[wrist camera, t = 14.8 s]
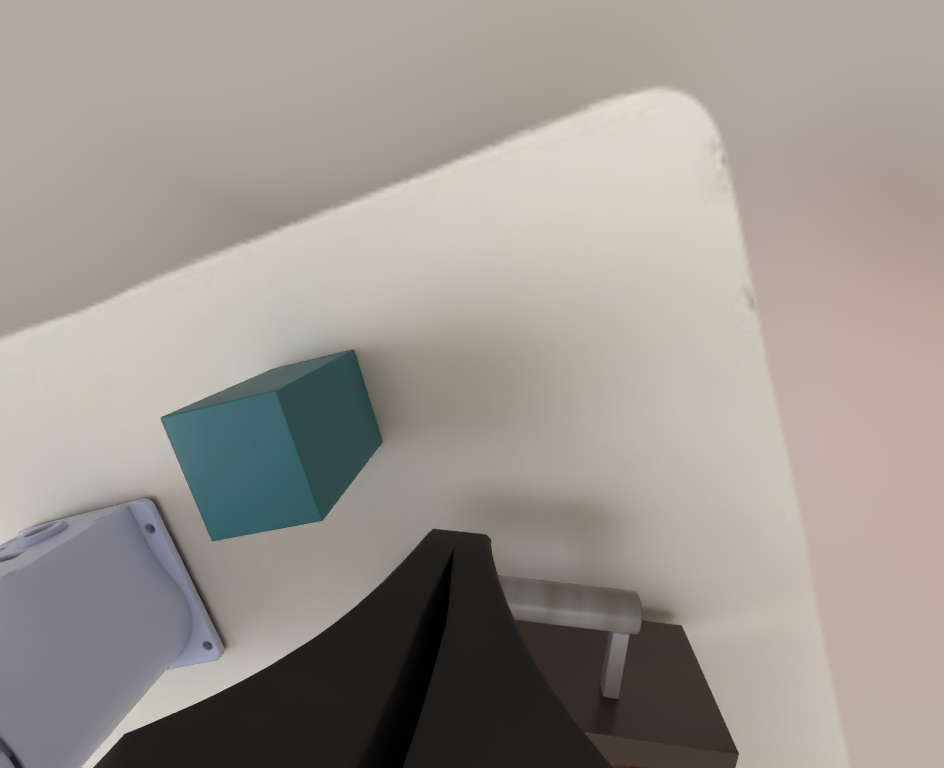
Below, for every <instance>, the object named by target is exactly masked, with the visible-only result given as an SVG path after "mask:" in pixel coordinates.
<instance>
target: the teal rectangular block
mask: <svg viewBox="0 0 944 768" xmlns="http://www.w3.org/2000/svg"><path fill="white" fill-rule="evenodd" d="M161 421H162V423H163V426H164V428H165V430H166V433H167V435H168V438H169V440H170V442H171V445H172V447H173V449H174V452H175V454H176V457H177V459H178V461H179V464H180V466H181V469H182V471H183V473H184V476H185V478H186V480H187V483H188V485H189V488H190V490H191V492H192V495H193V497H194V500H195V502H196V504H197V507H198V509H199V511H200V514H201V516H202V519H203V521H204V523H205V526H206V528H207V531H208V533H209V535H210V538H211V540H212V541H216V540H222V539H227V538H233V537H238V536H243V535H249V534H254V533H259V532H265V531H270V530H275V529H281V528H286V527H292V526H297V525H302V524H308V523H313V522H318V521H322V520H324V518H325V517H326V516H327V514H328V513H329V512H330V510H331V509H332V508H333V506H334V505H335V504H336V502H337V501H338V500H339V499H340V497H341V496H342V495H343V493H344V492H345V491H346V489H347V488H348V487H349V485H350V484H351V483H352V481H353V480H354V479H355V478H356V476H357V475H358V474H359V472H360V471H361V470H362V468H363V467H364V466H365V464H366V463H367V462H368V460H369V459H370V458H371V457H372V455H373V454H374V453H375V451H376V450H377V449H378V447H379V446H380V445H381V443H382V439H381V436H380V433H379V429H378V426H377V423H376V420H375V417H374V413H373V410H372V407H371V404H370V401H369V397H368V394H367V391H366V388H365V385H364V381H363V378H362V375H361V372H360V369H359V365H358V362H357V359H356V356H355V352H354V350H349V351H345V352H341V353H337V354H333V355H328V356H324V357H320V358H316V359H312V360H308V361H304V362H300V363H296V364H292V365H288V366H283V367H279V368H275V369H271V370H269V371H267V372H264V373H262V374H260V375H257V376H255V377H253V378H251V379H248V380H246V381H244V382H241V383H239V384H237V385H234V386H232V387H230V388H227V389H225V390H223V391H221V392H218V393H216V394H214V395H211V396H209V397H207V398H204V399H202V400H200V401H198V402H195V403H193V404H191V405H188V406H186V407H184V408H181V409H179V410H177V411H174V412H172V413H170V414H168V415H165V416H163V417H161Z"/></svg>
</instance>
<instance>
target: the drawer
mask: <svg viewBox="0 0 944 768" xmlns="http://www.w3.org/2000/svg"><path fill="white" fill-rule="evenodd" d="M498 578H499V581H500V584H501V587H502V589H503V592H504V595H505V597H506V600H507V603H508V605H509V607H510V610H511V612H512V614H513V617H514V619H515V621H516V623H517V625H518V628H519V630H520V632H521V634H522V636H523V638H524V640H525V642H526V643H527V645H528V647H529V649H530V651H531V653H532V654H533V656H534V658H535V660H536V661H537V663H538V665H539V667H540V668H541V670H542V671H543V673H544V675H545V676H546V678H547V679H548V681H549V683H550V684H551V686H552V687H553V689H554V691H555V692H556V693H557V695H558V696H559V698H560V699H561V700H562V702H563V703H564V705H565V706H566V707H567V709H568V710H569V711H570V713H571V714H572V716H573V717H574V718H575V720H576V721H577V723H578V724H579V725H580V727H581V728H582V730H583V731H584V732H585V734H586V735H587V736H588V737H589V739H590V740H591V741H592V742H593V743H594V745H595V746H596V747H597V748H598V750H599V751H600V752H601V753H602V755H603V756H604V757H605V758H606V760H607V761H608V762H609V763H610V764H611V766H612V767H613V768H735V767H736V763H737V759H738V755H739V753H738V751H737V749H736V746H735V744H734V742H733V740H732V737H731V735H730V733H729V731H728V728H727V726H726V724H725V722H724V719H723V717H722V715H721V713H720V710H719V708H718V706H717V704H716V701H715V699H714V697H713V695H712V692H711V690H710V688H709V686H708V683H707V681H706V679H705V677H704V674H703V672H702V670H701V668H700V665H699V663H698V661H697V659H696V656H695V654H694V652H693V650H692V647H691V645H690V643H689V641H688V638H687V636H686V634H685V632H684V629H683V627H682V626H681V625H672V624H664V623H656V622H647V621H642V607H641V601H640V598H639V595H638V593H637V592H635V591H630V590H622V589H613V588H604V587H595V586H586V585H578V584H569V583H560V582H551V581H543V580H534V579H525V578H516V577H507V576H499V575H498Z"/></svg>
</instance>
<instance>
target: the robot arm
mask: <svg viewBox="0 0 944 768" xmlns="http://www.w3.org/2000/svg"><path fill="white" fill-rule="evenodd" d="M151 525H153V526H154V528H155V529H154V528H153V527H152V526H151ZM223 653H224V646H223V644H222V642H221V640H220V638H219V636H218V634H217V632H216V630H215V628H214V626H213V623H212V621H211V619H210V617H209V615H208V613H207V611H206V609H205V607H204V605H203V603H202V601H201V599H200V597H199V595H198V592H197V590H196V588H195V586H194V584H193V582H192V580H191V578H190V576H189V574H188V572H187V570H186V568H185V566H184V564H183V562H182V559H181V557H180V555H179V553H178V551H177V549H176V547H175V545H174V543H173V541H172V539H171V537H170V535H169V533H168V531H167V528H166V526H165V524H164V522H163V520H162V518H161V516H160V514H159V512H158V510H157V508H156V506H155V504H154V503H153V502H152V501H151V500H149V499H146V498H142V499H138V500H134V501H130V502H127V503H123V504H119V505H115V506H111V507H107V508H103V509H99V510H95V511H91V512H87V513H83V514H79V515H76V516H72V517H68V518H64V519H60V520H56V521H52V522H48V523H44V524H40V525H36V526H32V527H28V528H26V529H24V530H23V531H21V532H19V534H18V536H17V537H15V538H13V539H11V540H10V541H8V542H6V543H4V544H2V545H0V768H81V767H82V766H83V765H84V764H85V762H86V761H87V760H88V759H89V758H90V757H91V756H92V754H93V753H94V752H95V751H96V750H97V749H98V748H99V746H100V745H101V744H102V743H103V742H104V741H105V739H106V738H107V737H108V736H109V735H110V734H111V733H112V731H113V730H114V729H115V728H116V727H117V726H118V724H119V723H120V722H121V721H122V720H123V719H124V718H125V716H126V715H127V714H128V713H129V712H130V711H131V709H132V708H133V707H134V706H135V705H136V704H137V703H138V701H139V700H140V699H141V698H142V697H143V696H144V695H145V693H146V692H147V691H148V690H149V689H150V688H151V686H152V685H153V684H154V683H155V682H156V681H157V680H158V678H159V677H160V676H161V675H162V674H163V673H164V671H165V670H166V669H172V668H177V667H183V666H188V665H194V664H199V663H204V662H210V661H215V660H218V659H219V658H220V657H221V656H222V654H223ZM94 768H613V767H612V766H611V764H610V763H609V762H608V761H607V760H606V758H605V757H604V756H603V755H602V753H601V752H600V751H599V750H598V748H597V747H596V746H595V745H594V743H593V742H592V741H591V740H590V739H589V737H588V736H587V735H586V734H585V732H584V731H583V730H582V728H581V727H580V725H579V724H578V723H577V721H576V720H575V718H574V717H573V716H572V714H571V713H570V711H569V710H568V709H567V707H566V706H565V705H564V703H563V702H562V700H561V699H560V698H559V696H558V695H557V693H556V692H555V691H554V689H553V687H552V686H551V684H550V683H549V681H548V679H547V678H546V676H545V675H544V673H543V671H542V670H541V668H540V667H539V665H538V663H537V661H536V660H535V658H534V656H533V654H532V653H531V651H530V649H529V647H528V645H527V643H526V642H525V640H524V638H523V636H522V634H521V632H520V630H519V628H518V625H517V623H516V621H515V619H514V617H513V614H512V612H511V610H510V607H509V605H508V603H507V600H506V597H505V595H504V592H503V589H502V587H501V584H500V581H499V578H498V575H497V572H496V568H495V564H494V560H493V556H492V550H491V539H490V538H489V537H488V536H487V535H486V534H477V533H467V532H458V531H448V530H439V529H433V530H431V531H430V532H429V533H428V534H427V535H426V536H425V538H424V539H423V540H422V541H421V542H420V543H419V545H418V546H417V547H416V548H415V549H414V550H413V551H412V552H411V554H410V555H409V556H408V557H407V558H406V559H405V560H404V561H403V562H402V563H401V564H400V565H399V566H398V567H397V568H396V569H395V570H394V571H393V572H392V573H391V574H390V575H389V576H388V577H387V578H386V579H385V580H384V581H383V582H382V583H381V584H380V585H379V586H378V587H377V588H376V589H375V590H373V591H372V592H371V593H370V594H369V595H368V596H367V597H366V598H364V599H363V600H362V601H361V602H360V603H359V604H358V605H357V606H355V607H354V608H353V609H352V610H351V611H349V612H348V613H347V614H346V615H344V616H343V617H342V618H341V619H339V620H338V621H337V622H335V623H334V624H333V625H331V626H330V627H329V628H327V629H326V630H325V631H323V632H322V633H321V634H319V635H318V636H316V637H315V638H313V639H312V640H310V641H309V642H307V643H306V644H304V645H302V646H301V647H299V648H298V649H296V650H294V651H293V652H291V653H290V654H288V655H286V656H285V657H283V658H282V659H280V660H278V661H277V662H275V663H274V664H272V665H270V666H268V667H267V668H265V669H263V670H261V671H259V672H258V673H256V674H254V675H252V676H250V677H248V678H247V679H245V680H243V681H241V682H239V683H237V684H235V685H233V686H231V687H229V688H227V689H225V690H223V691H221V692H219V693H217V694H215V695H213V696H211V697H209V698H207V699H205V700H203V701H201V702H199V703H196V704H194V705H192V706H189V707H187V708H185V709H183V710H180V711H178V712H176V713H173V714H171V715H169V716H166V717H164V718H162V719H159V720H157V721H155V722H153V723H150V724H148V725H146V726H143V727H141V728H138V729H136V730H133V731H131V732H128V733H126V734H124V735H123V736H122V737H121V739H120V740H119V741H118V742H117V743H116V744H115V745H114V746H113V747H112V748H111V749H110V750H109V752H108V753H107V754H106V755H105V756H104V757H103V758H102V759H101V760H100V761H99V762H98V763H97V764H96V765H95V767H94Z"/></svg>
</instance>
